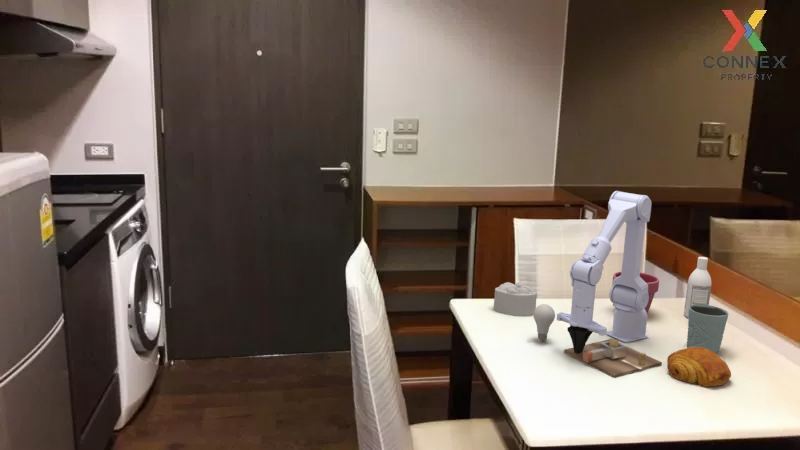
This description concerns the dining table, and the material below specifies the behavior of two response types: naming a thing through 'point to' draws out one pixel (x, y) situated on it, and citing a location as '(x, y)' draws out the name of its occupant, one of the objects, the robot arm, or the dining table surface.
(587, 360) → the square frame with handle
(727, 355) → the dining table surface
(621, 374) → the socket base
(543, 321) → the lightbulb
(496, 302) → the lumpy-topped squat cylinder
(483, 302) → the dining table surface
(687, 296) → the bath foam
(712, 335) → the embossed teal cup
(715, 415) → the dining table surface
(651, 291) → the plant pot
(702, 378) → the croissant
